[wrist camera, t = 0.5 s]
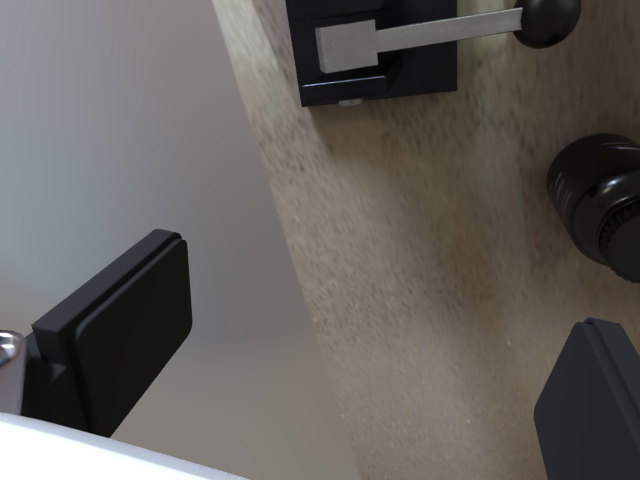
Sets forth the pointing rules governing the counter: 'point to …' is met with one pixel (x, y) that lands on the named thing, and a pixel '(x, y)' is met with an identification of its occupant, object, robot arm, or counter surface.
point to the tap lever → (445, 32)
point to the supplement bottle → (600, 200)
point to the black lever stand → (393, 66)
